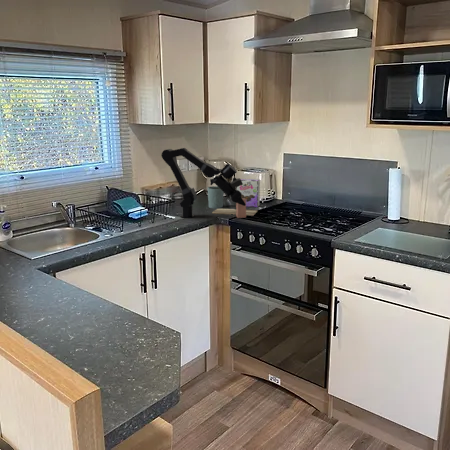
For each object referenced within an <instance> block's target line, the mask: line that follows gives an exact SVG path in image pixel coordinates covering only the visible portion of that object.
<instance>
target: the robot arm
mask: <svg viewBox="0 0 450 450" xmlns="http://www.w3.org/2000/svg"><path fill="white" fill-rule="evenodd" d="M177 157H183V158H184V159H186V160H187V161H189V162H190V163H192V165H194V166H196V167H197V168H198V169H199V170H200V171H201V172H202V174H204V176H205V177H207V178H210V179H209V181H210V186H213V184H215V186H218V187H219V188H220V189H221V190H222V191H223V192H224V195H225V196H226V197H227V198H229V199H230V200H231V201H232V202H234V203H235V204H236V203H238V204H241V205H243V206H245V205H246V204H245V202H244V201H243V199H242V198H241V195H242V193H241V192H240V191H238V190H236V187H238V186H240V185H243V183H242V181H241V179H242V178H239V177H238V178H236V177H233V176H235V175H236V174H237V172H238V171H237V169H236V168H235V166H232V165H231V164H230V163H226V164H225V166H223V168H221V169H220V168H217V167H216V166H214V165H213V164H210V163H208V162H206V161H204V160H202V159H201V158H199V157H197V155H196V154H193V153H192V152H191V151H190V150H188V149H187V148H185V147H181V148H177V149H172V148H168V149H164V150H163V151H162V152H161V158H162V160H163V161H164V162H165V163H166V165H168V167H169V168H170V170H171V171H172V173H173V175H174V177H175V179H176V182H177V183H178V185H179V188H180V189H181V192H182V193H181V194H182V198H183V200H182V201H181V202H179V206H180V207H181V213H182V215H181V216H180V215H179V218H184V219H185V218H186V219H191V218H193V217H195V214H193V210H194V209H193V205H194V203H195V202H196V201H197V199H198V196H197V194H198V193H197V192H196V190H195V189H196V188H194V187H190V185H189V184H188V181H187V180H186V177H185V175H184V174H183V172H182V170H181V168H180V166H179V164H178V161H177V160H178V158H177ZM230 179H232V180H231V182H230V181H228V180H230Z"/></svg>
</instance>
